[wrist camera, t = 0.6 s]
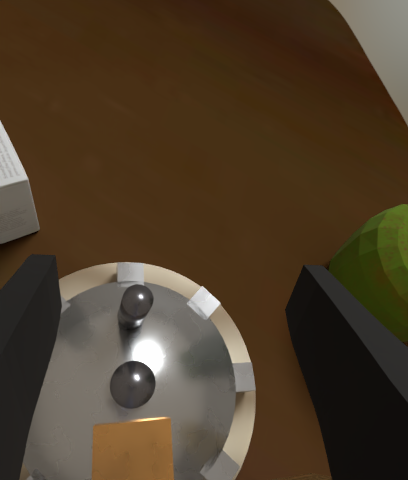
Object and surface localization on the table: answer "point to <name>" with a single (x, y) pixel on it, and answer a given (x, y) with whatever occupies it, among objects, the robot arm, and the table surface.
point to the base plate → (232, 338)
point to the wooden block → (306, 477)
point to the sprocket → (136, 388)
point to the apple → (378, 268)
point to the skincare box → (14, 195)
